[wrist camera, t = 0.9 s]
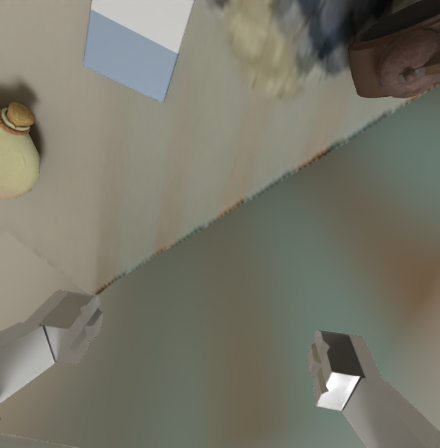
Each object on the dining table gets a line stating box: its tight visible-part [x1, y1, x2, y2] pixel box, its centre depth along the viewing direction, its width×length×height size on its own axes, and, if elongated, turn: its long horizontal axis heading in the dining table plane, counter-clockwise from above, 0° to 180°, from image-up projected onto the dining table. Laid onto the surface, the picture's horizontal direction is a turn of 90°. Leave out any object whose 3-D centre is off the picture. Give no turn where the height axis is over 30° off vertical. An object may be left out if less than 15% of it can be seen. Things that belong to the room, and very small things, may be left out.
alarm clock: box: [348, 0, 440, 98], centre depth 29 cm, size 14×7×20 cm, turn 117°
